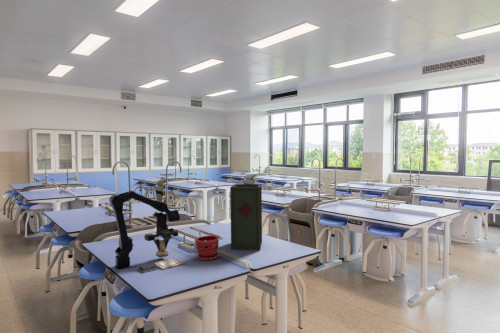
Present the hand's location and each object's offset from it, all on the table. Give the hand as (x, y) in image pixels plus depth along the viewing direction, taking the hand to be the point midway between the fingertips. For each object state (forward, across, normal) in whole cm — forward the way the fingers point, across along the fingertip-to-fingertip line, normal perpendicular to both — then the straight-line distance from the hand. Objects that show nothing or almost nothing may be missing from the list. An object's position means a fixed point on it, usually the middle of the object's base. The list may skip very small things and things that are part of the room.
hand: (162, 249), depth 191 cm
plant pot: (+6, +21, -16) cm, 27 cm away
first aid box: (+6, +54, -12) cm, 56 cm away
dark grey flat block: (+5, -13, -11) cm, 18 cm away
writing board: (+5, -2, -10) cm, 12 cm away
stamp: (+4, 0, 0) cm, 4 cm away
